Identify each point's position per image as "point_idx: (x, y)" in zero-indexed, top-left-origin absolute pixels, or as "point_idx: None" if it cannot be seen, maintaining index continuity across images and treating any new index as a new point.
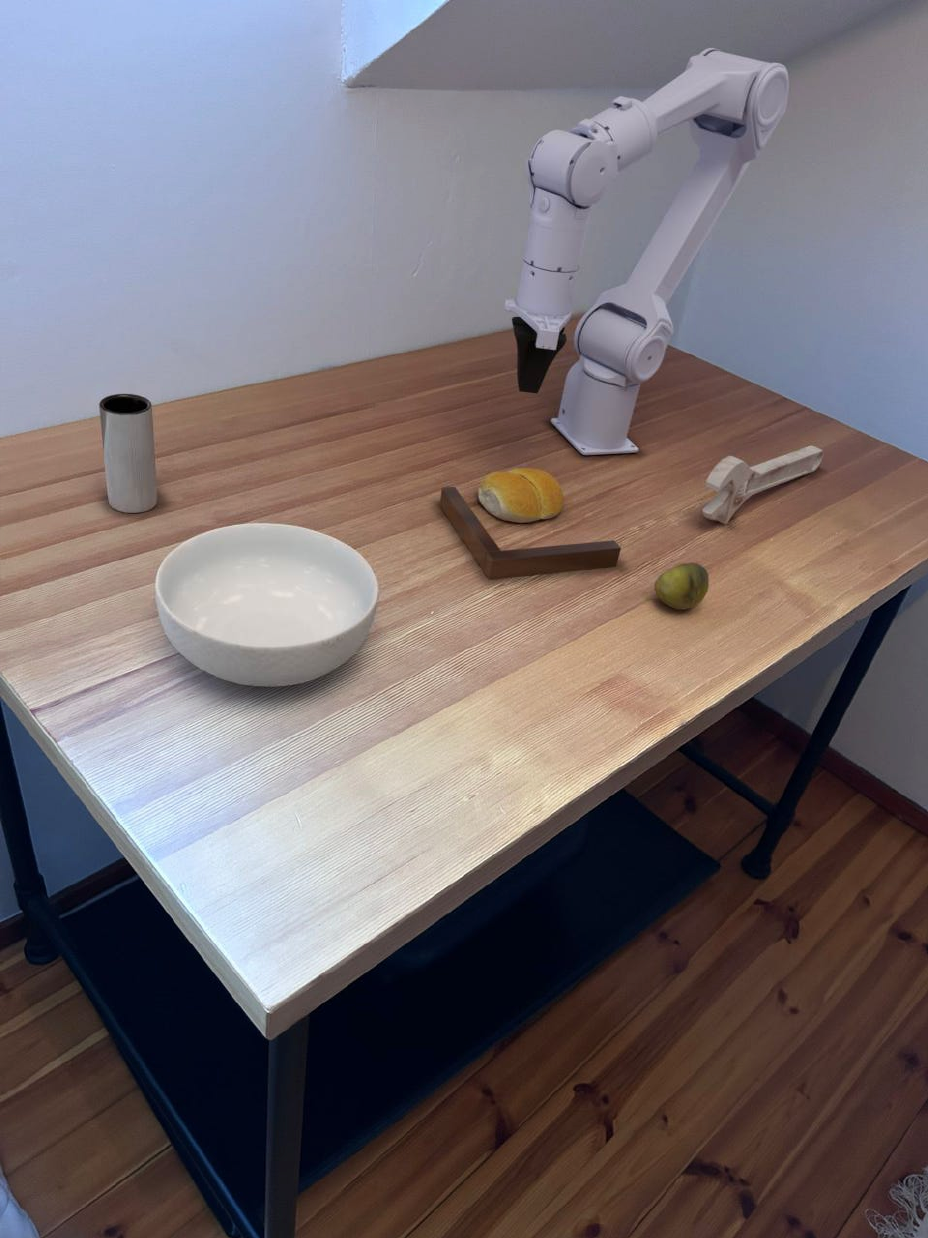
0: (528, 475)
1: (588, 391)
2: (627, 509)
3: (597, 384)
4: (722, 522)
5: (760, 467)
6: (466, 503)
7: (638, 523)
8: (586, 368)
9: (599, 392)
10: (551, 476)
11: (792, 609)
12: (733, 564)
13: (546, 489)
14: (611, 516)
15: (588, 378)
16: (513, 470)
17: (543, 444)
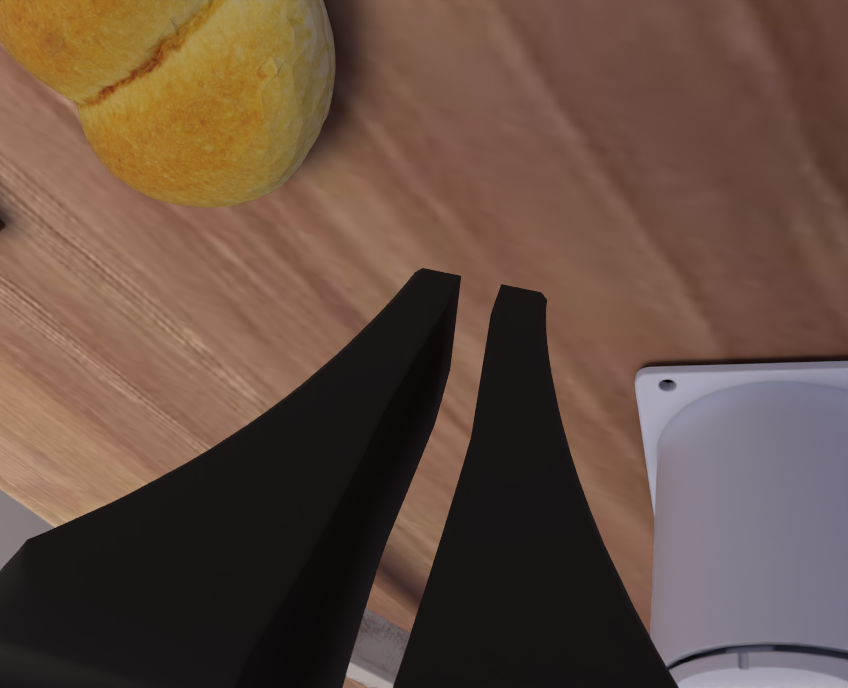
0: (145, 95)
1: (742, 577)
2: (294, 361)
3: (705, 631)
4: None
5: (370, 679)
6: None
7: (226, 359)
8: (817, 674)
9: (689, 604)
10: (193, 192)
11: (20, 475)
12: (127, 460)
13: (96, 144)
14: (238, 308)
15: (765, 632)
16: (231, 40)
17: (761, 262)
